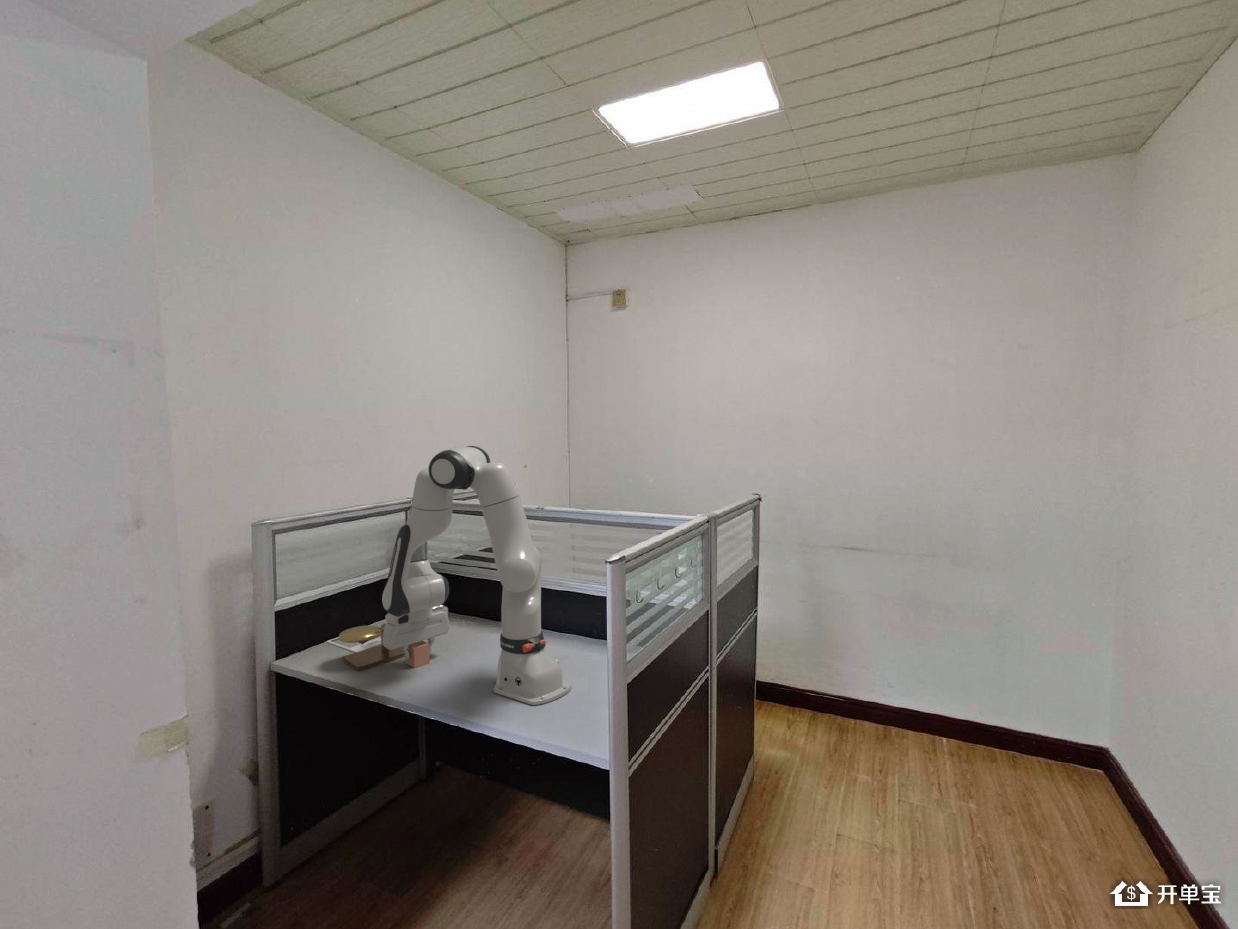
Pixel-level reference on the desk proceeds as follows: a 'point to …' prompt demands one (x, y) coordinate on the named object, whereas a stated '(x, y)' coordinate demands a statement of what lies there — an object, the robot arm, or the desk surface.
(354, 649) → the photo frame
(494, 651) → the desk surface
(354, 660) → the balance
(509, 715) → the desk surface
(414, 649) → the block
